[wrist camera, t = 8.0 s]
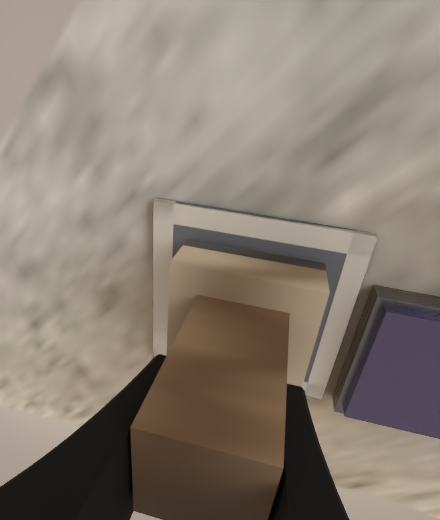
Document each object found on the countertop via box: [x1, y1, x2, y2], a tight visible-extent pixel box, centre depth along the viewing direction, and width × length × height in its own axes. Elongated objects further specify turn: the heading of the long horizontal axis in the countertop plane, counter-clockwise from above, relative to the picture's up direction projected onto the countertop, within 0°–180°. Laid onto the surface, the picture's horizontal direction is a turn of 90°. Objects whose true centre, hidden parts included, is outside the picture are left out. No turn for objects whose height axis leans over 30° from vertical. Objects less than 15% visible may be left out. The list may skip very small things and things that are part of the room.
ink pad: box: [333, 285, 440, 439], centre depth 13 cm, size 6×6×1 cm
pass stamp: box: [130, 239, 330, 520], centre depth 10 cm, size 5×5×7 cm
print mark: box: [153, 198, 378, 399], centre depth 14 cm, size 8×8×1 cm
